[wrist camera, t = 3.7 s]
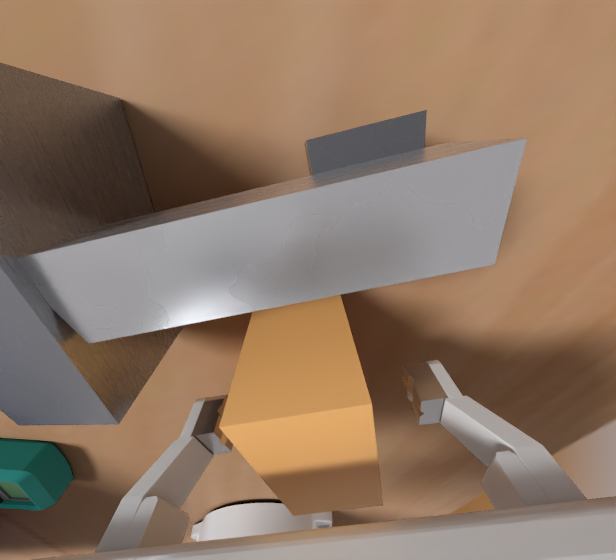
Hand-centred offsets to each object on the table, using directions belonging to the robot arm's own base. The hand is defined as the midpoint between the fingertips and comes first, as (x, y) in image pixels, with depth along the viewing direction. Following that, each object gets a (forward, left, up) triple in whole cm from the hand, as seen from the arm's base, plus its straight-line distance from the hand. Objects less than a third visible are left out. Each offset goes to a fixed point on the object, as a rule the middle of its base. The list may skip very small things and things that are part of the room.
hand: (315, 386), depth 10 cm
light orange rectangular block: (0, 0, -3) cm, 3 cm away
